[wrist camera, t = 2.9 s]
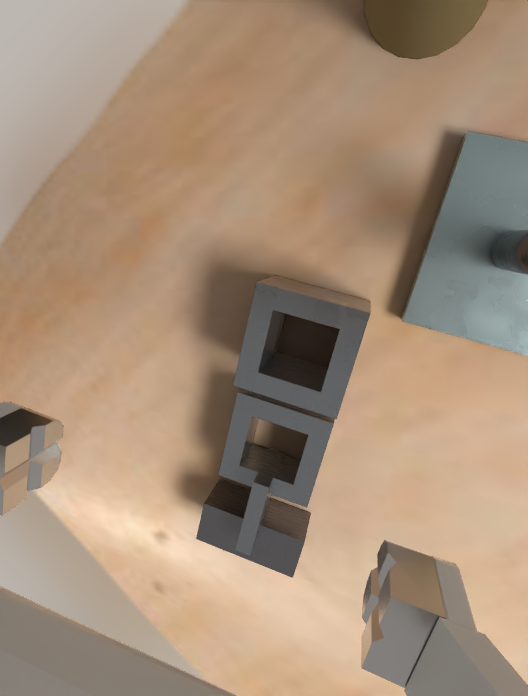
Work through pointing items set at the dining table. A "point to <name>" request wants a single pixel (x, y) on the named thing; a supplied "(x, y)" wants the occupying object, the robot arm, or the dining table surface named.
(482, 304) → the grey plate with post
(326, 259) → the dining table surface
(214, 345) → the dining table surface
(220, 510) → the chain tail
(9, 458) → the robot arm
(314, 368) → the end link
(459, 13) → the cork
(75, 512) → the dining table surface
